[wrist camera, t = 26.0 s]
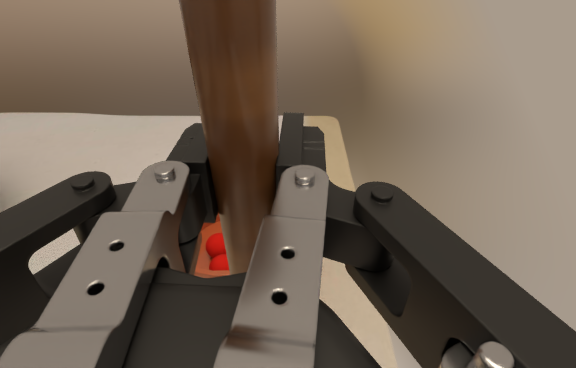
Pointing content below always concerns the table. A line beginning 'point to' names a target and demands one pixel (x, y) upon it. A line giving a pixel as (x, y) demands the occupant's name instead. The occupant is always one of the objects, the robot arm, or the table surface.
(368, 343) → the table surface
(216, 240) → the red ball
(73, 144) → the table surface
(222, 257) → the tomato
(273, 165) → the stick
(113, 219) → the robot arm
